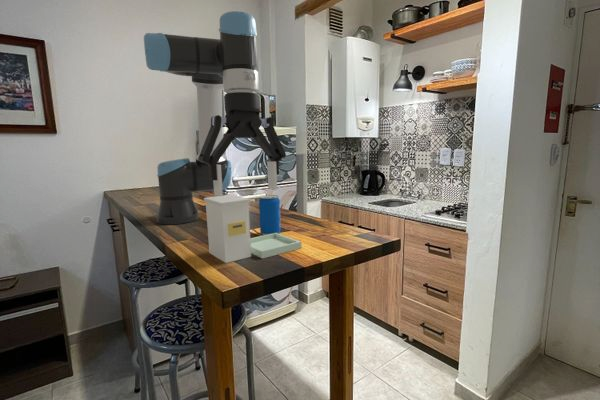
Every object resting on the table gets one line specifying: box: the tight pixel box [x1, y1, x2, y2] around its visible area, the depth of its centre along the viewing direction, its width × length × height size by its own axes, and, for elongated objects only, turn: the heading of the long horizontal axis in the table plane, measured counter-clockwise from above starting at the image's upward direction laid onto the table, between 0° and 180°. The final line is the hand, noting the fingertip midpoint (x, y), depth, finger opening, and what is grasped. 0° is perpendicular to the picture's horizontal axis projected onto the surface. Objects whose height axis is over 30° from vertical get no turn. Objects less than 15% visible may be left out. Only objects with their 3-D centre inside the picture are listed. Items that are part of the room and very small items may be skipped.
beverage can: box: [258, 194, 282, 236], centre depth 103 cm, size 6×6×12 cm
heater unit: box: [203, 194, 252, 264], centre depth 84 cm, size 11×8×15 cm
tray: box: [250, 233, 302, 260], centre depth 90 cm, size 12×12×2 cm
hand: (247, 192), depth 73 cm, fingers open, 13 cm apart
